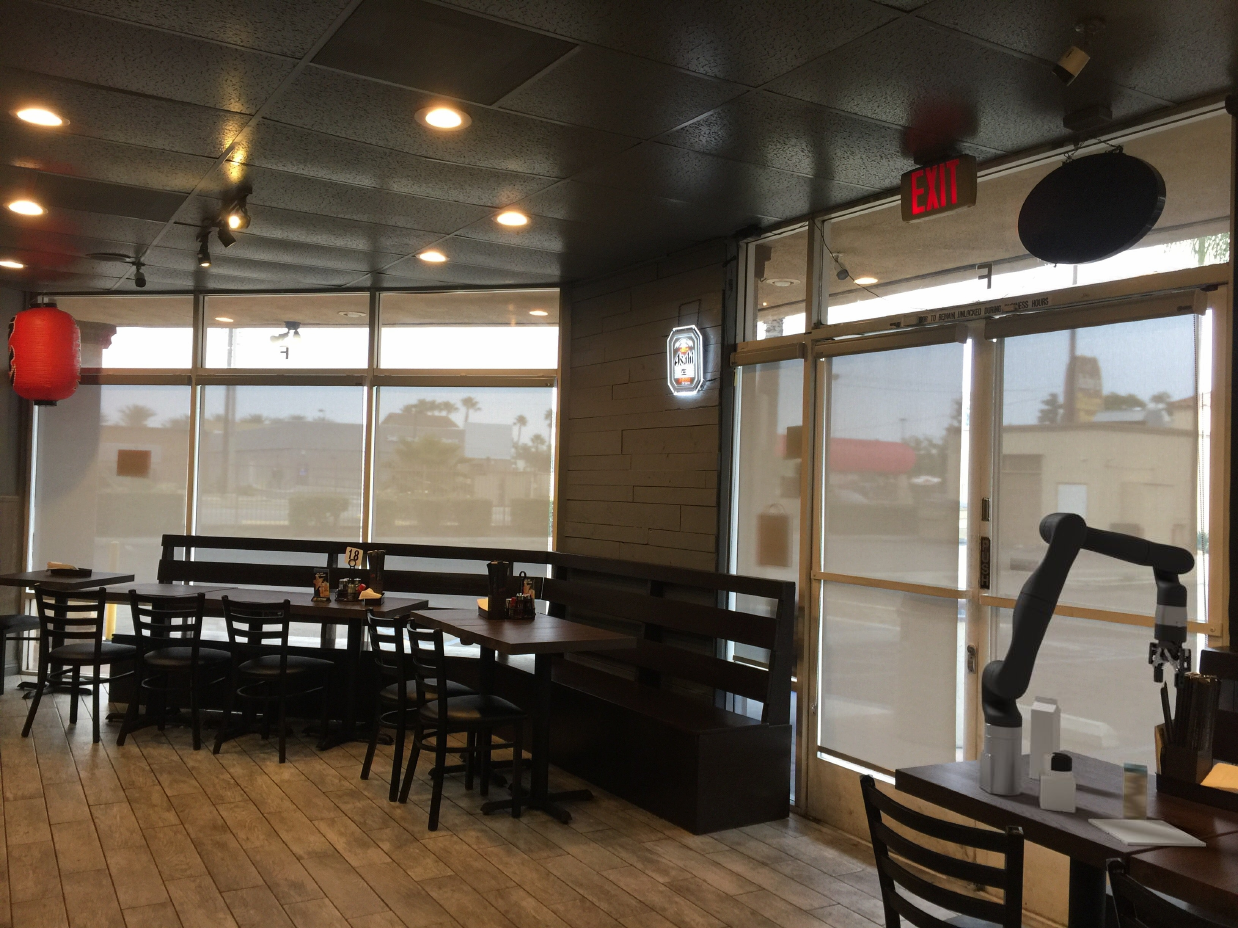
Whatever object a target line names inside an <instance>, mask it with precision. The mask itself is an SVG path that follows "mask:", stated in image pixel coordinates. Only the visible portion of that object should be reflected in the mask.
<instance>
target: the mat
mask: <svg viewBox="0 0 1238 928" xmlns="http://www.w3.org/2000/svg"><path fill="white" fill-rule="evenodd" d="M1087 820H1088V823H1090V824H1091V825H1093V826H1094V827H1097V828H1098V829H1100V830H1101V831H1103V832H1105V833H1107V834H1108V833H1109V834H1108V835H1110V836H1112V837H1113V838H1115V839H1117V840H1118V839H1119V840H1118V841H1120V840H1121V841H1120V842H1122V843H1123V844H1125V845H1127V844H1129V845H1128V846H1160V847H1161V846H1163V847H1165V846H1167V847H1169V846H1170V847H1173V846H1174V847H1206V846H1207V843H1206V842H1204V841H1201V840H1199V839H1198V838H1196V837H1194V836H1192V835H1191V834H1189V833H1186V832H1185V831H1182V830H1181V829H1179V828H1177V827H1175V826H1173V825H1171V824H1170V823H1168V822H1166V821H1163V820H1162V819H1161V820H1160V819H1159V820H1158V819H1156V820H1155V819H1147V820H1135V819H1117V818H1116V819H1114V818H1113V819H1112V818H1111V819H1109V818H1108V819H1107V818H1105V819H1104V818H1102V819H1100V818H1088V819H1087Z"/></svg>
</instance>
